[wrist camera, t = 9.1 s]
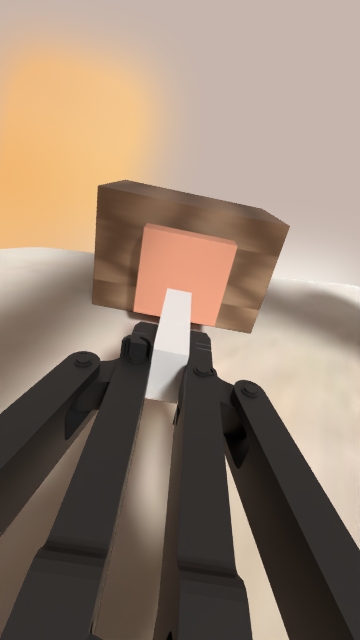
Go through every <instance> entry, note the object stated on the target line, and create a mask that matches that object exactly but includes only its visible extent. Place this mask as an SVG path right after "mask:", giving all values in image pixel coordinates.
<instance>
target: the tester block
mask: <svg viewBox="0 0 360 640" xmlns="http://www.w3.org/2000/svg"><path fill="white" fill-rule="evenodd" d="M147 223H150V224H155V225H160V226H165V227H169V228H174V229H179V230H184V231H189V232H194V233H199V234H204V235H208V236H213V237H218V238H223V239H228V240H233V241H235V243H236V244H237V246H238V247H237V250H236V254H235V257H234V260H233V264H232V267H231V271H230V274H229V278H228V281H227V285H226V288H225V292H224V295H223V299H222V302H221V305H220V309H219V312H218V316H217V319H216V323H215V326H213V327H218V328H224V329H229V330H235V331H240V332H245V333H251V331H252V329H253V326H254V323H255V320H256V318H257V315H258V312H259V309H260V307H261V304H262V301H263V299H264V296H265V293H266V290H267V288H268V285H269V282H270V279H271V277H272V274H273V271H274V268H275V266H276V263H277V260H278V257H279V255H280V252H281V249H282V246H283V243H284V241H285V238H286V236H287V233H288V230H289V227H290V226H289V225H287V224H285V223H284V222H282V221H281V220H279V219H278V218H276V217H274V216H273V215H271V214H270V213H268V212H266V211H265V210H263V209H260V208H255V207H251V206H246V205H241V204H237V203H232V202H227V201H223V200H218V199H213V198H209V197H204V196H199V195H194V194H190V193H185V192H180V191H175V190H171V189H166V188H161V187H157V186H152V185H147V184H143V183H138V182H133V181H129V180H122V181H118V182H113V183H109V184H104V185H99V186H98V196H97V216H96V238H95V258H94V279H93V301H92V304H95V305H100V306H106V307H111V308H116V309H122V310H127V311H132V312H133V311H134V303H135V295H136V287H137V279H138V271H139V263H140V255H141V247H142V240H143V232H144V227H145V225H146V224H147ZM143 314H144V313H143ZM154 316H155V315H154ZM159 317H160V316H159ZM197 324H198V323H197ZM202 325H203V324H202Z"/></svg>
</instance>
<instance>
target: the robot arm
mask: <svg viewBox="0 0 360 640" xmlns="http://www.w3.org/2000/svg"><path fill="white" fill-rule="evenodd" d="M191 294H192V293H189V292H184V291H179V290H174V289H169V288H167V292H166V296H165V301H164V305H163V309H162V313H161V317H160V322H159V325H157V324H152V323H147V322H139V323H138V324H136V325H135V327H134V330H133V332H132V335H128V336H126V337H124V338H123V340H122V345H121V354H120V358H118V359H115V360H111V361H100V358H99V357H98V356H97V355H96V354H94V353H92V352H87V351H80V352H76V353H73V354H71V355H69V356H68V357H67V358H66V359H64V360H63V361H62V362H61V363H60V364H59V365H57V366H56V367H55V368H54V369H53V370H51V371H50V372H49V373H48V374H47V375H46V376H44V377H43V378H42V379H41V380H40V381H38V382H37V383H36V384H35V385H34V386H33V387H31V388H30V389H29V390H28V391H27V392H26V393H24V394H23V395H22V396H21V397H20V398H18V399H17V400H16V401H15V402H14V403H13V404H11V405H10V406H9V407H8V408H7V409H5V410H4V411H3V412H2V413H1V414H0V537H1V535H2V534H3V533H4V532H5V530H6V529H7V528H8V526H9V525H10V524H11V522H12V521H13V520H14V519H15V517H16V516H17V515H18V513H19V512H20V511H21V509H22V508H23V507H24V506H25V504H26V503H27V502H28V500H29V499H30V498H31V496H32V495H33V494H34V493H35V491H36V490H37V489H38V487H39V486H40V485H41V483H42V482H43V481H44V480H45V478H46V477H47V476H48V474H49V473H50V472H51V470H52V469H53V468H54V467H55V465H56V464H57V463H58V461H59V460H60V459H61V457H62V456H63V455H64V453H65V452H66V451H67V450H68V448H69V447H70V446H71V444H72V443H73V442H74V440H75V439H76V438H77V437H78V435H79V434H80V433H81V431H82V430H83V429H84V427H85V426H86V425H87V424H88V422H89V421H90V420H91V418H92V417H93V416H94V414H95V413H96V411H97V410H99V411H98V414H97V416H96V419H95V421H94V424H93V426H92V429H91V431H90V434H89V436H88V439H87V441H86V444H85V446H84V449H83V451H82V454H81V456H80V459H79V461H78V464H77V467H76V469H75V472H74V474H73V477H72V479H71V482H70V484H69V487H68V489H67V492H66V494H65V497H64V499H63V502H62V504H61V507H60V509H59V512H58V514H57V517H56V519H55V522H54V524H53V527H52V529H51V532H50V534H49V537H48V539H47V541H46V543H45V545H44V546H43V547H41V548H40V549H39V550H38V552H37V554H36V555H35V557H34V559H33V561H32V564H31V566H30V568H29V570H28V573H27V575H26V577H25V580H24V582H23V585H22V587H21V589H20V592H19V594H18V597H17V599H16V602H15V604H14V606H13V609H12V611H11V614H10V616H9V618H8V621H7V623H6V626H5V628H4V631H3V633H2V635H1V638H0V640H102V639H100V638H99V637H97V636H95V635H94V633H95V628H96V623H97V618H98V613H99V608H100V603H101V598H102V593H103V589H104V584H105V580H106V575H107V570H108V566H109V561H110V557H111V552H112V547H113V543H114V538H115V534H116V529H117V525H118V520H119V515H120V511H121V506H122V502H123V497H124V492H125V488H126V483H127V479H128V474H129V470H130V465H131V460H132V456H133V451H134V447H135V442H136V437H137V433H138V428H139V424H140V419H141V415H142V410H143V405H144V399H145V398H148V399H154V400H159V401H165V402H170V403H176V404H177V401H178V405H177V409H176V413H175V416H174V420H173V425H174V435H173V446H172V458H171V469H170V480H169V491H168V503H167V514H166V525H165V536H164V548H163V559H162V570H161V581H160V593H159V603H158V611H157V618H156V623H155V629H154V636H153V640H253V639H252V630H251V622H250V613H249V605H248V598H247V592H246V588H245V585H244V582H243V580H242V579H241V578H240V577H239V575H238V574H237V571H236V566H235V557H234V547H233V536H232V526H231V515H230V505H229V494H228V484H227V473H226V463H225V456H226V459H227V462H228V465H229V467H230V470H231V473H232V476H233V479H234V482H235V485H236V488H237V490H238V493H239V496H240V499H241V502H242V505H243V508H244V511H245V513H246V516H247V519H248V522H249V525H250V528H251V531H252V534H253V536H254V539H255V542H256V545H257V548H258V551H259V554H260V557H261V559H262V562H263V565H264V568H265V571H266V574H267V577H268V580H269V582H270V585H271V588H272V591H273V594H274V597H275V600H276V603H277V605H278V608H279V611H280V614H281V617H282V620H283V623H284V626H285V628H286V631H287V634H288V637H289V640H360V550H359V548H358V547H357V545H356V543H355V542H354V540H353V538H352V537H351V535H350V533H349V532H348V530H347V528H346V527H345V525H344V523H343V522H342V520H341V518H340V517H339V515H338V513H337V512H336V510H335V508H334V507H333V505H332V503H331V502H330V500H329V498H328V497H327V495H326V493H325V492H324V490H323V488H322V487H321V485H320V483H319V482H318V480H317V478H316V477H315V475H314V473H313V472H312V470H311V468H310V467H309V465H308V463H307V462H306V460H305V458H304V457H303V455H302V453H301V452H300V450H299V448H298V447H297V445H296V443H295V442H294V440H293V438H292V437H291V435H290V433H289V432H288V430H287V428H286V427H285V425H284V423H283V422H282V420H281V418H280V417H279V415H278V413H277V412H276V410H275V408H274V407H273V405H272V403H271V402H270V400H269V398H268V397H267V395H266V393H265V392H264V390H263V389H262V388H261V387H260V386H259V385H257V384H256V383H253V382H251V381H247V380H240V381H237V382H236V383H235V385H232V384H230V383H227V382H225V381H223V380H221V379H220V378H219V377H218V376H217V373H216V370H215V369H214V368H213V365H212V352H211V340H210V338H209V337H208V335H207V334H206V333H202V332H197V331H192V330H190V319H191Z"/></svg>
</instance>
